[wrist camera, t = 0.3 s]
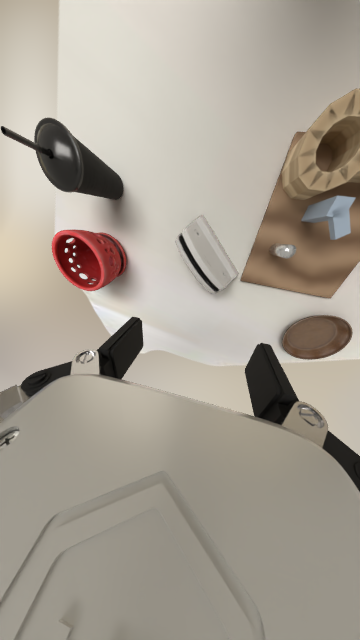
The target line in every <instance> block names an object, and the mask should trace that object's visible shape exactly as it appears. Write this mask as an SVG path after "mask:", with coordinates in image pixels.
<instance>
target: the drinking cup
mask: <svg viewBox="0 0 360 640" xmlns="http://www.w3.org/2000/svg"><path fill="white" fill-rule="evenodd" d="M1 130H2V133H3V134H4V135H5V136H7V137H9V138H12V139H14V140H16V141H18V142H20V143H22V144H24V145H26V146H28V147H30V148H33V149H34V150H36V154H37V158H38V161H39V163H40V166H41V168H42V170H43V172H44V173H45V175H46V177H47V178H48V179H49V181H50V182H51V183H52V184H53V185H54V186H55V187H57V188H58V189H60V190H62V191H64V192H78V193H84V194H89V195H94V196H99V197H104V198H109V199H115V200H117V199H119V198H120V197H121V196H122V194H123V183H122V180H121V178H120V177H119V175H118V174H117V173H115V172H114V171H113V170H112V169H111V168H110V167H109V166H107V165H106V164H105V163H104V162H103V161H102V160H100V159H99V158H98V157H97V156H96V155H95V154H93V153H92V152H91V151H90V150H89V149H88V148H86V147H85V146H84V145H83V144H82V143H81V142H80V141H78V140H77V139H76V138H75V137H74V136H73V135H72V134H71V133H70V131H69V130H68V129H67V128H66V127H65V126H64V125H63V124H62V123H60V122H59V121H57V120H55V119H52V118H44V119H42V120H41V121H40V122H39V123H38V125H37V127H36V130H35V143H34V142H32V141H30V140H28V139H26V138H24V137H22V136H21V135H19V134H17V133H15V132H13V131H11V130H9V129H7V128H5V127H3V126H1Z"/></svg>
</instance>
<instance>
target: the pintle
mask: <svg viewBox="0 0 360 640" xmlns="http://www.w3.org/2000/svg"><path fill="white" fill-rule="evenodd" d="M269 252H270V253H271V254H272V255H276V256H279V257H283V258H291V257H292V256H293V255H294V254H295V253H296V247H295V246H294V245H288V244H277V243H276V244H273V245H272V246H271V247H270V250H269Z"/></svg>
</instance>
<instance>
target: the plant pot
mask: <svg viewBox="0 0 360 640" xmlns="http://www.w3.org/2000/svg"><path fill="white" fill-rule="evenodd" d="M70 238H74V239H73V241H72V242H70V243H66V240H68V239H70ZM74 245H76V247H75V248H74V249H73V246H74ZM65 248H68V252H67V253H65ZM52 252H53V256H54V260H55V262H56V264H57V266H58V268H59V270H60V271H61V273H62V274H63V275H64V276H65V277H66V279H67V280H69V281H70V282H71V283H72V284H73V285H75V286H76V287H78V288H80V289H83V290H86V291H95V290H98V289H100V288H102V287H104V286H106V285H107V284H109V283H110V282H112V281H113V280H114V279H115V278H116V277H118V276H120V275H121V274H122V273H123V272H124V270H125V268H126V256H125V252H124V250H123V248H122V246H121V245H120V243H119V242H118V241H117V240H116V239H115V238H114V237H112V236H111V235H109V234H106V233H93V232H89V231H84V230H63V231H60V232H58V233H57V234H56V235H55V236H54V238H53V241H52ZM73 253H75V254H76V255H75V256H73ZM69 258H72V260H73V263H70V262H69ZM77 265H79V266H80V268H78V267H77ZM71 267H73V268H74V269H75V270H76V272H73V271H72V270H71ZM80 273H83V274H85V275H86V276H87V277H88V279H82V278H81V277H80V276H79V274H80ZM92 279H95V280H96V281H92ZM89 283H93V284H89ZM98 283H99V284H98Z"/></svg>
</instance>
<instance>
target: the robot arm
mask: <svg viewBox="0 0 360 640" xmlns="http://www.w3.org/2000/svg"><path fill="white" fill-rule="evenodd" d="M142 347H143V332H142V321H141V320H140V318H136V317H132V318H131V319H130V320H128V321H127V322H126V323H125V324H124V325H123V326H122V327H121V328H120V329H119V330H118V331H117V332H116V333H115V334H114V335H112V336H111V337H110V338H109V339H108V340H107V341H106V342H105V343H104V344H103V345H102V346H101V347H100V348H99V349H98V350H97V351H96V350H94V349H87V350H84V351H81V352H79V353H78V354H76V355H75V356H74V358H73V361H71V362H68V363H65V364H61V365H58V366H55V367H51V368H48V369H44V370H41V371H38V372H35V373H33V374H32V375H30V376H29V377H27V378H26V379H25V380H24V381H23V382H22V384H21V385H20V386H17V385H15V386H13V387H10V388H8V389H6V390H4V391H2V392H0V640H360V456H359V455H358V454H356V453H355V452H354V451H353V450H351V449H350V448H349V447H348V446H347V445H345V444H344V443H343V442H342V441H340V440H339V439H338V438H337V437H336V436H334V435H333V434H332V433H331V432H329V431H328V424H327V421H326V420H325V418H324V417H323V415H322V414H321V413H320V412H319V411H318V410H316V409H315V408H314V407H312V406H311V405H309V404H307V403H305V402H300V401H299V400H298V398H297V396H296V394H295V392H294V390H293V388H292V386H291V384H290V383H289V380H288V378H287V376H286V374H285V372H284V371H283V368H282V367H281V365H280V363H279V361H278V359H277V357H276V355H275V353H274V351H273V349H272V347H271V346H270V345H269V344H264V343H261V344H260V345H259V344H258V345H257V346H256V348H255V350H254V352H253V354H252V356H251V358H250V360H249V362H248V364H247V366H246V368H245V374H246V379H247V383H248V389H249V393H250V398H251V403H252V407H253V412H254V416H255V417H254V416H251V415H248V414H244V413H241V412H237V411H234V410H230V409H227V408H223V407H219V406H216V405H213V404H209V403H205V402H202V401H198V400H195V399H191V398H187V397H184V396H180V395H176V394H173V393H169V392H166V391H162V390H159V389H155V388H151V387H147V386H144V385H140V384H136V383H133V382H129V381H125V380H121V379H122V377H123V376H124V374H125V373H126V371H127V370H128V368H129V367H130V365H131V364H132V362H133V361H134V359H135V358H136V357H137V355H138V354H139V352H140V351H141V349H142Z"/></svg>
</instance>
